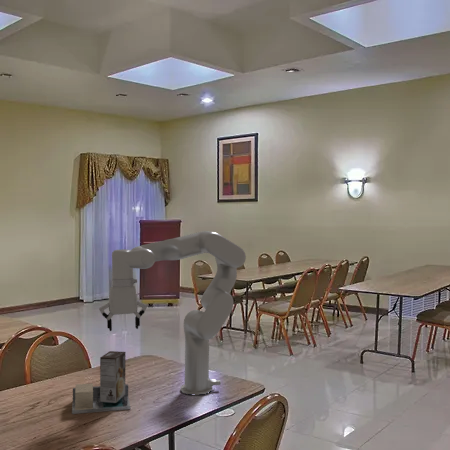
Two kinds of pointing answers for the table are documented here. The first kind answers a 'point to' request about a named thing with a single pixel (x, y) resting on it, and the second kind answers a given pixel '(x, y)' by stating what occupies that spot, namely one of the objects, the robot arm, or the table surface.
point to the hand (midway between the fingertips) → (123, 329)
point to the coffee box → (112, 376)
